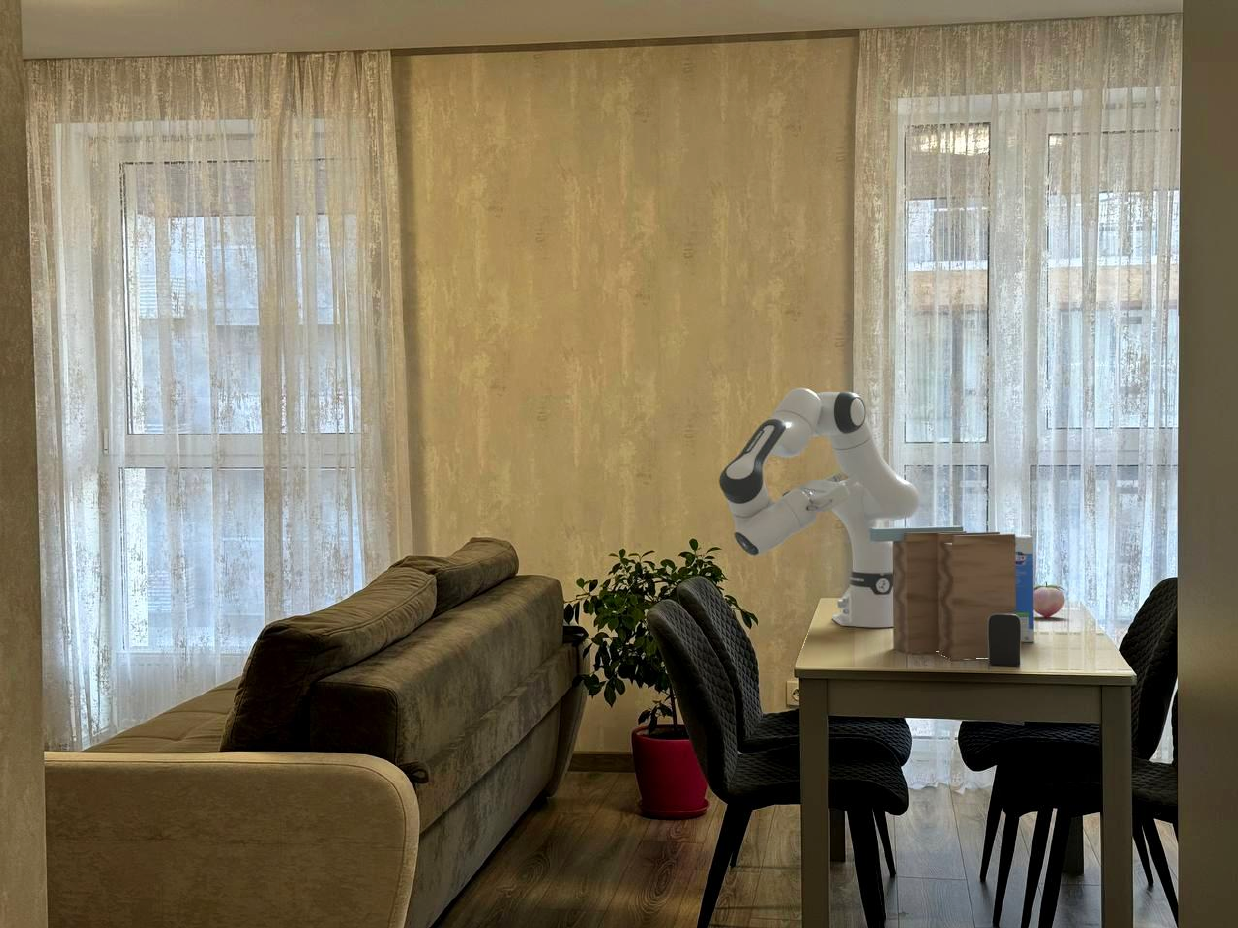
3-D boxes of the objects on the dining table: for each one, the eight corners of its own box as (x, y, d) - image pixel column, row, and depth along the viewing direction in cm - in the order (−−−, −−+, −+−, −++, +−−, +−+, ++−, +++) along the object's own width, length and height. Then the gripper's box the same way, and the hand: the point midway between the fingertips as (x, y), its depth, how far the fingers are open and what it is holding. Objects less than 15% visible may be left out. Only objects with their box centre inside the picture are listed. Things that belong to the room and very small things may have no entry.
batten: (870, 540, 299) (869, 527, 299) (956, 538, 303) (956, 525, 303) (876, 541, 295) (875, 528, 295) (963, 539, 300) (963, 526, 300)
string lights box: (1030, 638, 316) (1029, 534, 315) (1034, 643, 308) (1034, 536, 308) (975, 637, 318) (974, 534, 318) (978, 642, 311) (977, 536, 310)
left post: (893, 648, 303) (892, 530, 302) (951, 645, 306) (950, 529, 305) (907, 653, 295) (906, 533, 295) (967, 650, 298) (966, 531, 298)
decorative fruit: (1056, 615, 355) (1056, 579, 355) (1068, 619, 347) (1068, 582, 347) (1023, 615, 355) (1023, 579, 354) (1034, 619, 346) (1034, 583, 346)
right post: (938, 655, 293) (937, 533, 292) (998, 652, 296) (997, 531, 295) (954, 660, 285) (953, 536, 285) (1016, 657, 288) (1015, 534, 288)
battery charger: (1020, 663, 280) (1020, 612, 280) (1021, 667, 277) (1021, 614, 276) (987, 663, 282) (987, 611, 282) (988, 666, 278) (987, 613, 278)
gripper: (809, 499, 283) (859, 466, 285) (779, 494, 303) (826, 463, 305) (823, 523, 284) (873, 490, 286) (792, 516, 304) (839, 485, 306)
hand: (848, 476), depth 296 cm, fingers open, 8 cm apart
